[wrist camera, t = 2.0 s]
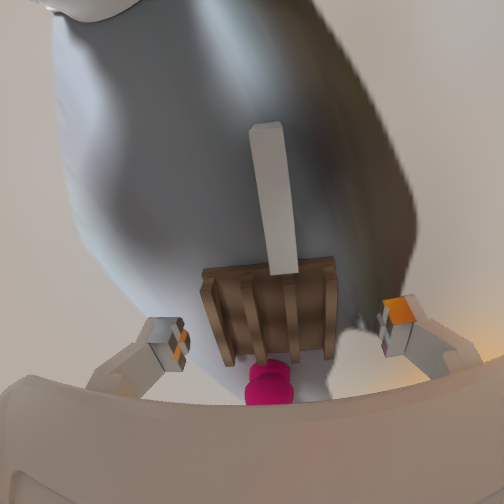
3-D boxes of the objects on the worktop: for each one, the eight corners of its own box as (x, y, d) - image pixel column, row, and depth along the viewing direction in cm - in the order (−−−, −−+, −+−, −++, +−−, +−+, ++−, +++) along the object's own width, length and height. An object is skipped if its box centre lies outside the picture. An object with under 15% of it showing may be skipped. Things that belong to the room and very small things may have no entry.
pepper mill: (253, 385, 44) (243, 495, 27) (241, 360, 41) (226, 485, 23) (296, 380, 43) (298, 494, 26) (288, 354, 39) (289, 485, 22)
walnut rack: (203, 269, 33) (196, 288, 30) (333, 256, 31) (339, 275, 28) (228, 348, 40) (224, 368, 36) (331, 341, 38) (334, 361, 34)
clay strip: (254, 124, 25) (248, 131, 19) (279, 121, 24) (282, 127, 18) (271, 237, 30) (270, 275, 24) (293, 235, 30) (298, 272, 24)
